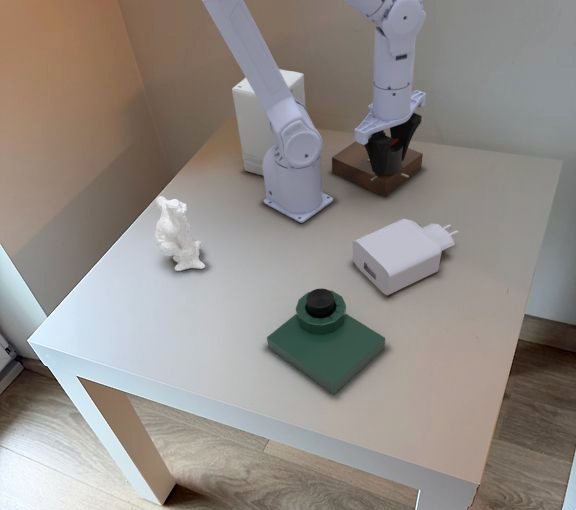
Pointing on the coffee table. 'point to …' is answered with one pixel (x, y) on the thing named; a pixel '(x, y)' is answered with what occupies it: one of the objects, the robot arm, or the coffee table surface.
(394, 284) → the charger
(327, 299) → the black push button
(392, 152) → the lock knob
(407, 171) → the panel
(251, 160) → the white product box
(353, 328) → the base
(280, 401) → the coffee table surface
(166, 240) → the koala figurine
